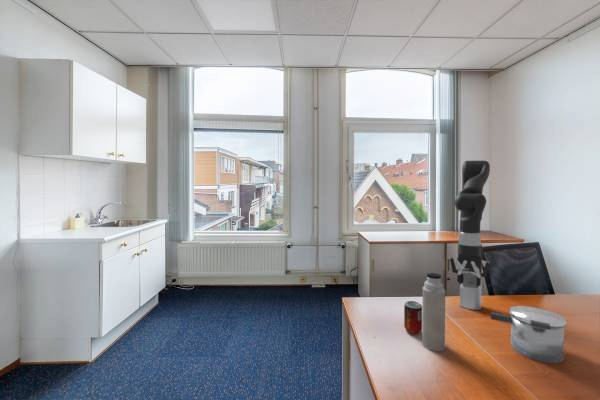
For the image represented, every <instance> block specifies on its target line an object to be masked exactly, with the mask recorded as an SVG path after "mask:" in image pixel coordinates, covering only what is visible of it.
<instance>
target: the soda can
mask: <svg viewBox="0 0 600 400" xmlns="http://www.w3.org/2000/svg"><path fill="white" fill-rule="evenodd" d="M403 306H404V310H403V311H404V312H403V313H404V317H403V318H404V319H403V321H404V322H403V323H404V324H403V326H404V329H405V331H407V332H406V333H407V334H409V333H410V334H409V335H412V334H414V335H415V336H418V335H420V334H421V333H422V304H421V303H420V302H417V301H414V300H407V301H406V302H405V303H404V305H403Z"/></svg>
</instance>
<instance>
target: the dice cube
mask: <svg viewBox="0 0 600 400" xmlns="http://www.w3.org/2000/svg"><path fill="white" fill-rule="evenodd" d="M461 274H462V283H461V284H462V286H463V287H470V288H478V287H477V274H476V273H475V272H467V271H462V273H461ZM461 284H460V285H461Z"/></svg>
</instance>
